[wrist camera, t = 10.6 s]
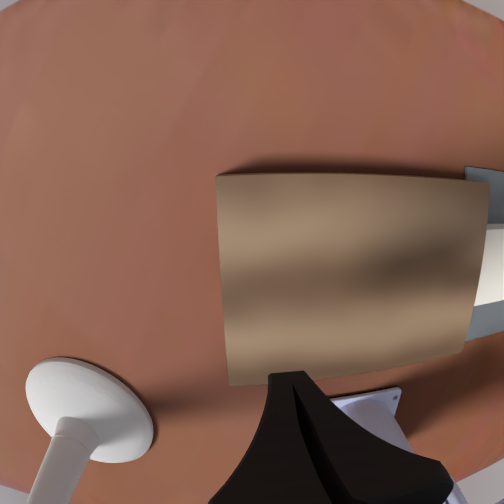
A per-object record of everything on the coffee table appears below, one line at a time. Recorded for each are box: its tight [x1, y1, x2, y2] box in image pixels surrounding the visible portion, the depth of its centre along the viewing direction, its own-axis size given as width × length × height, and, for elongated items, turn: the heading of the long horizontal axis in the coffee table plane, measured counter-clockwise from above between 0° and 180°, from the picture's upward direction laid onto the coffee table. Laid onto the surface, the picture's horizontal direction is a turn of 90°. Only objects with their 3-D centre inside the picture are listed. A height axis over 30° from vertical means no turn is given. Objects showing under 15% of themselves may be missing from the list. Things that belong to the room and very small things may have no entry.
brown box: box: [216, 172, 490, 386], centre depth 20 cm, size 13×18×3 cm
